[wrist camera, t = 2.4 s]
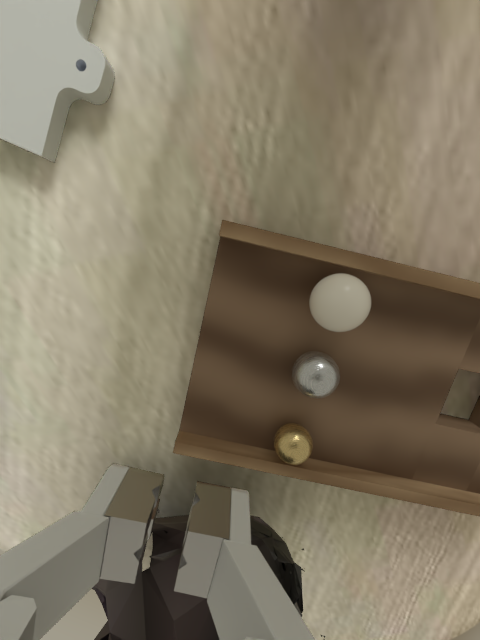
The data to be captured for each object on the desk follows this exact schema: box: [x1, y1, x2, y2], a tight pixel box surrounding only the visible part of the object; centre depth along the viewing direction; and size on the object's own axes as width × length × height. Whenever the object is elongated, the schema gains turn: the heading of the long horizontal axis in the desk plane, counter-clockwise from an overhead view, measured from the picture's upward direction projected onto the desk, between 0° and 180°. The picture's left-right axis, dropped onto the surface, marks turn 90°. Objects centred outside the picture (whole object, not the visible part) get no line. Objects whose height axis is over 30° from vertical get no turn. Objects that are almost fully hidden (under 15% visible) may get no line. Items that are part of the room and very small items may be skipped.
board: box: [173, 220, 480, 516], centre depth 24 cm, size 18×30×4 cm, turn 77°
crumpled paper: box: [92, 470, 325, 640], centre depth 22 cm, size 14×15×20 cm
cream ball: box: [309, 273, 371, 332], centre depth 20 cm, size 4×4×4 cm
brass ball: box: [274, 423, 313, 465], centre depth 23 cm, size 3×3×3 cm
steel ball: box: [292, 351, 340, 399], centre depth 21 cm, size 3×3×3 cm
